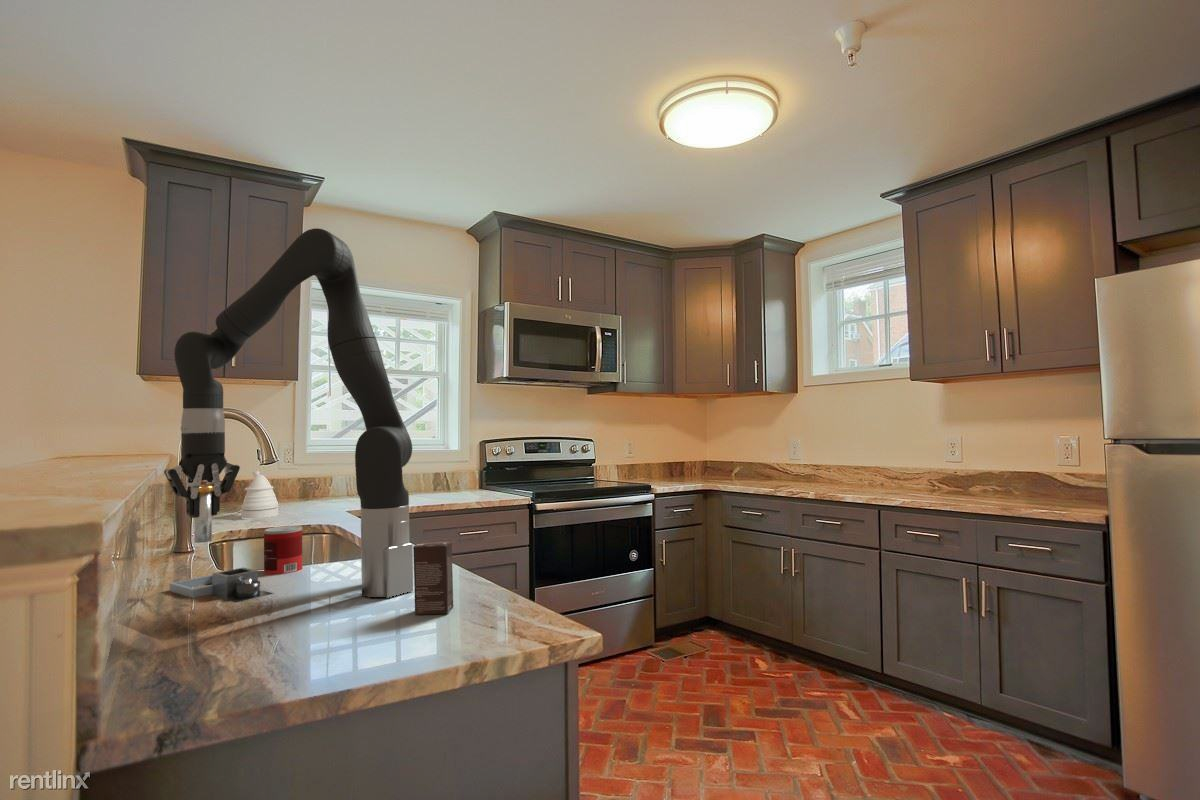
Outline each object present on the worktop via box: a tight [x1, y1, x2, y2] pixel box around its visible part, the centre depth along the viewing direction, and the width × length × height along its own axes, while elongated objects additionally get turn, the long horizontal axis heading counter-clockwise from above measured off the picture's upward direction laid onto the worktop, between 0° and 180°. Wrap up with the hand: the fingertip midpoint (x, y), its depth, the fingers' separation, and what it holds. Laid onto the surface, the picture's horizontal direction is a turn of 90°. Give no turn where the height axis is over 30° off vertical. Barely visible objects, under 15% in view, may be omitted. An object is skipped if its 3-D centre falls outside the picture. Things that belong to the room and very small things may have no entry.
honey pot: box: [240, 470, 280, 518], centre depth 247 cm, size 13×13×18 cm
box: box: [413, 541, 454, 616], centre depth 112 cm, size 6×4×12 cm
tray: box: [169, 574, 213, 599], centre depth 126 cm, size 10×8×3 cm
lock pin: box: [193, 484, 214, 544], centre depth 127 cm, size 4×4×11 cm
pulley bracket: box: [208, 567, 274, 603], centre depth 122 cm, size 11×7×6 cm, turn 55°
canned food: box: [263, 525, 303, 576], centre depth 142 cm, size 8×8×11 cm
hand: (203, 515), depth 127 cm, fingers closed on lock pin, 3 cm apart
